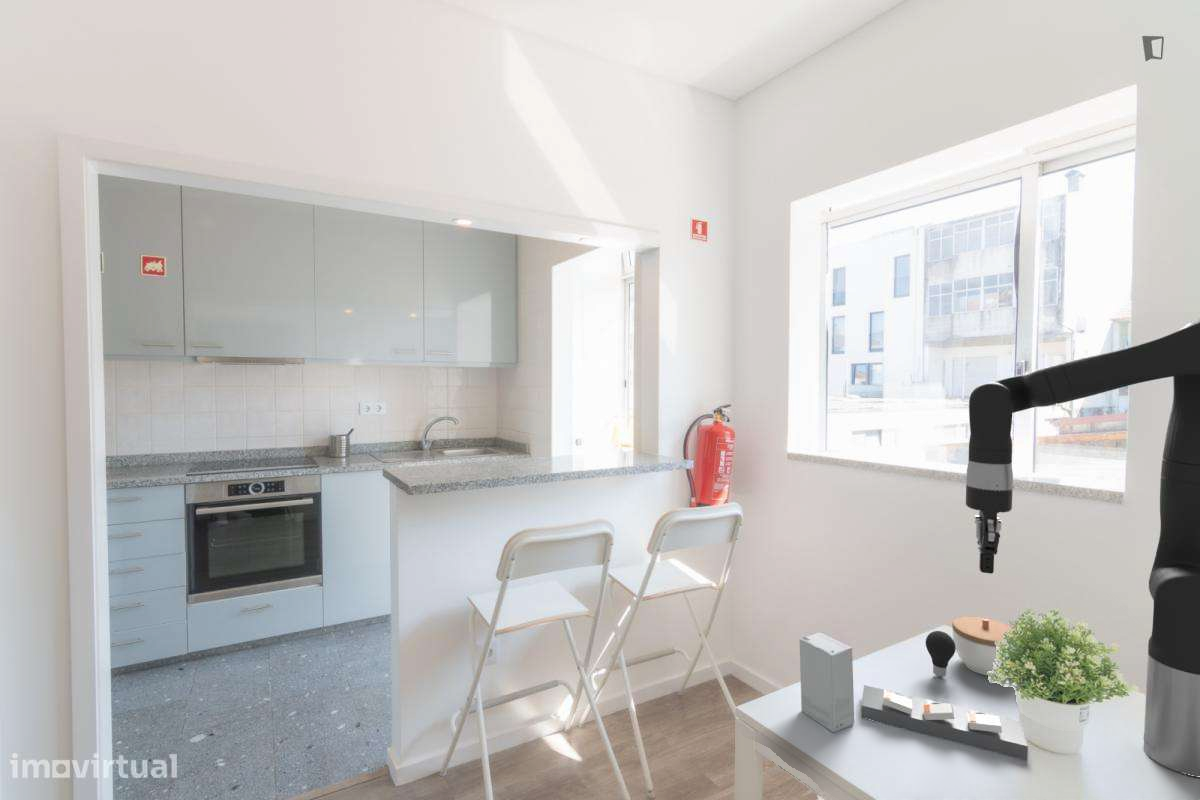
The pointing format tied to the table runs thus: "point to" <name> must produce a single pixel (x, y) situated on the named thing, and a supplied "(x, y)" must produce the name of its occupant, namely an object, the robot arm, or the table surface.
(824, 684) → the skincare box
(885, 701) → the rocker
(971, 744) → the power strip
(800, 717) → the table surface
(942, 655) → the light bulb
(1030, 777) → the table surface
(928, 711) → the rocker middle
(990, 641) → the lidded bowl
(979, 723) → the rocker
